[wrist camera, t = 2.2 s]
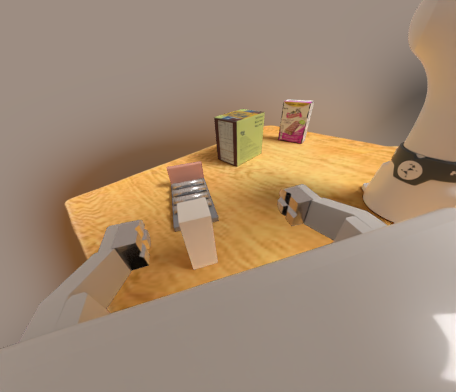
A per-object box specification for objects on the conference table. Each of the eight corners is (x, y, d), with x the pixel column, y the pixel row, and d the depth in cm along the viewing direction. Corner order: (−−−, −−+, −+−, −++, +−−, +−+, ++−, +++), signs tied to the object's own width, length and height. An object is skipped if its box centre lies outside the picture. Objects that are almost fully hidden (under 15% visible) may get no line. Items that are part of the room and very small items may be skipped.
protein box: (261, 153, 69) (265, 111, 59) (237, 167, 60) (236, 121, 51) (242, 147, 75) (242, 108, 65) (217, 159, 66) (213, 116, 57)
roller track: (203, 178, 55) (200, 161, 51) (218, 220, 39) (216, 200, 36) (172, 184, 53) (166, 166, 49) (175, 231, 37) (167, 210, 33)
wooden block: (212, 243, 34) (205, 197, 27) (217, 262, 31) (211, 215, 24) (190, 249, 33) (176, 203, 26) (193, 269, 30) (178, 223, 23)
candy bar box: (277, 140, 80) (283, 100, 70) (281, 137, 83) (287, 99, 73) (301, 144, 74) (311, 102, 64) (305, 140, 77) (314, 100, 67)
